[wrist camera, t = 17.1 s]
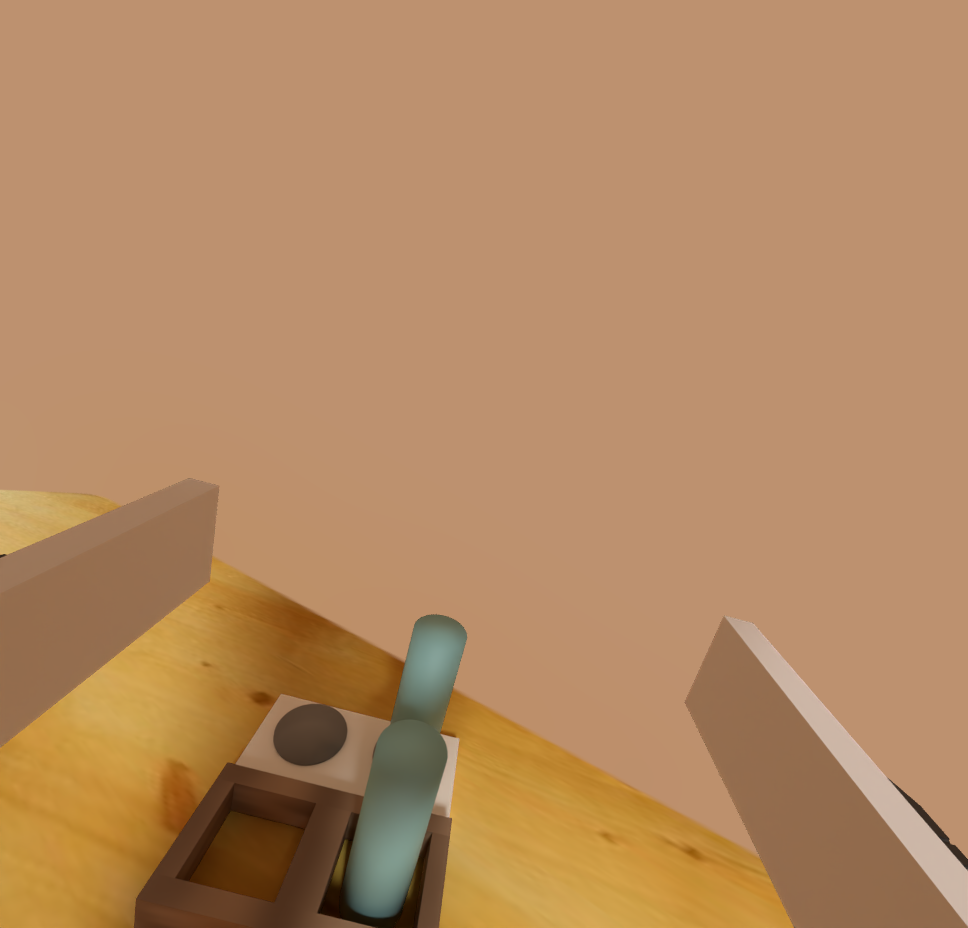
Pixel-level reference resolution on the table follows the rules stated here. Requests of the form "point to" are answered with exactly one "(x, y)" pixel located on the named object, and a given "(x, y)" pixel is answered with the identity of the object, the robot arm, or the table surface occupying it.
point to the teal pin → (392, 822)
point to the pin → (430, 670)
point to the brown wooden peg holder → (296, 912)
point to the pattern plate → (328, 748)
